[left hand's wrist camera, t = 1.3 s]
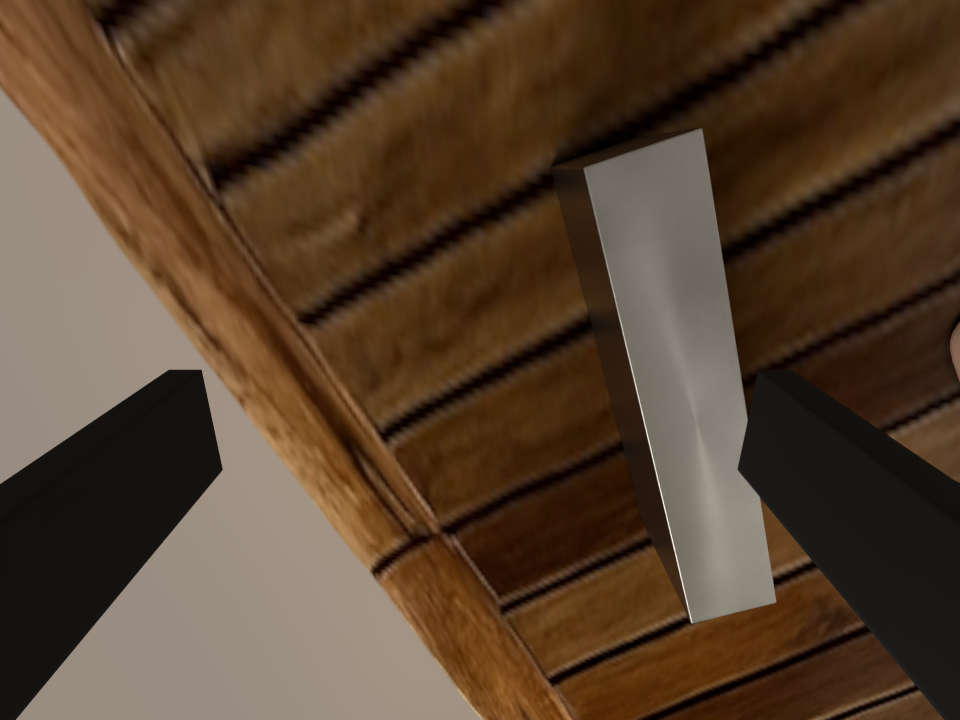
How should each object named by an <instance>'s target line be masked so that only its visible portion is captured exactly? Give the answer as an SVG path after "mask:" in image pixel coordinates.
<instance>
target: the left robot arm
mask: <svg viewBox="0 0 960 720" xmlns="http://www.w3.org/2000/svg"><path fill="white" fill-rule="evenodd" d="M222 470H223V469H222V464H221V459H220V455H219V450H218V445H217V441H216V436H215V431H214V426H213V422H212V417H211V412H210V407H209V403H208V398H207V393H206V389H205V384H204V379H203V374H202V370H168V371H167V372H165V373H164V374H162V375H161V376H159V377H158V378H156V379H155V380H153V381H152V382H150V383H149V384H147V385H146V386H144V387H143V388H142V389H140V390H139V391H137V392H136V393H134V394H133V395H131V396H130V397H128V398H127V399H125V400H124V401H122V402H121V403H119V404H118V405H116V406H115V407H113V408H112V409H110V410H109V411H108V412H106V413H105V414H103V415H102V416H100V417H99V418H97V419H96V420H94V421H93V422H91V423H90V424H88V425H87V426H85V427H84V428H82V429H81V430H79V431H78V432H76V433H75V434H74V435H72V436H71V437H69V438H68V439H66V440H65V441H63V442H62V443H60V444H59V445H57V446H56V447H54V448H53V449H51V450H50V451H48V452H47V453H45V454H44V455H43V456H41V457H40V458H38V459H37V460H35V461H34V462H32V463H31V464H29V465H28V466H26V467H25V468H23V469H22V470H20V471H19V472H17V473H16V474H14V475H13V476H12V477H10V478H9V479H7V480H6V481H4V482H3V483H1V484H0V720H16V719H17V718H18V716H19V715H20V714H21V713H22V711H23V710H24V709H25V708H26V707H27V705H28V704H29V703H30V702H31V701H32V699H33V698H34V697H35V696H36V695H37V693H38V692H39V691H40V690H41V689H42V687H43V686H44V685H45V684H46V682H47V681H48V680H49V679H50V678H51V676H52V675H53V674H54V673H55V672H56V670H57V669H58V668H59V667H60V666H61V664H62V663H63V662H64V661H65V660H66V658H67V657H68V656H69V655H70V654H71V652H72V651H73V650H74V649H75V648H76V646H77V645H78V644H79V643H80V641H81V640H82V639H83V638H84V637H85V635H86V634H87V633H88V632H89V631H90V629H91V628H92V627H93V626H94V625H95V623H96V622H97V621H98V620H99V618H100V617H101V616H102V615H103V614H104V612H105V611H106V610H107V609H108V608H109V606H110V605H111V604H112V603H113V602H114V600H115V599H116V598H117V597H118V596H119V594H120V593H121V592H122V591H123V589H124V588H125V587H126V586H127V585H128V583H129V582H130V581H131V580H132V579H133V577H134V576H135V575H136V574H137V573H138V571H139V570H140V569H141V568H142V567H143V565H144V564H145V563H146V562H147V561H148V559H149V558H150V557H151V556H152V555H153V553H154V552H155V551H156V550H157V549H158V547H159V546H160V545H161V544H162V542H163V541H164V540H165V539H166V538H167V536H168V535H169V534H170V533H171V532H172V530H173V529H174V528H175V527H176V526H177V524H178V523H179V522H180V521H181V520H182V518H183V517H184V516H185V515H186V514H187V512H188V511H189V510H190V509H191V507H192V506H193V505H194V504H195V503H196V501H197V500H198V499H199V498H200V497H201V495H202V494H203V493H204V492H205V491H206V489H207V488H208V487H209V486H210V484H211V483H212V482H213V481H214V480H215V478H216V477H217V476H218V475H219V474H220V472H221V471H222ZM737 470H738V471H739V472H740V474H741V475H742V476H743V477H744V478H745V480H746V481H747V482H748V483H749V485H750V486H751V487H752V488H753V489H754V491H755V492H756V493H757V494H758V495H759V497H760V498H761V499H762V500H763V501H764V503H765V504H766V505H767V506H768V507H769V509H770V510H771V511H772V512H773V514H774V515H775V516H776V517H777V518H778V520H779V521H780V522H781V523H782V524H783V526H784V527H785V528H786V529H787V530H788V532H789V533H790V534H791V535H792V536H793V538H794V539H795V540H796V541H797V542H798V544H799V545H800V546H801V547H802V549H803V550H804V551H805V552H806V553H807V555H808V556H809V557H810V558H811V559H812V561H813V562H814V563H815V564H816V565H817V567H818V568H819V569H820V570H821V571H822V573H823V574H824V575H825V576H826V577H827V579H828V580H829V581H830V582H831V584H832V585H833V586H834V587H835V588H836V590H837V591H838V592H839V593H840V594H841V596H842V597H843V598H844V599H845V600H846V602H847V603H848V604H849V605H850V606H851V608H852V609H853V610H854V611H855V612H856V614H857V615H858V616H859V617H860V619H861V620H862V621H863V622H864V623H865V625H866V626H867V627H868V628H869V629H870V631H871V632H872V633H873V634H874V635H875V637H876V638H877V639H878V640H879V641H880V643H881V644H882V645H883V646H884V648H885V649H886V650H887V651H888V652H889V654H890V655H891V656H892V657H893V658H894V660H895V661H896V662H897V663H898V664H899V666H900V667H901V668H902V669H903V670H904V672H905V673H906V674H907V675H908V676H909V678H910V679H911V680H912V681H913V683H914V684H915V685H916V686H917V687H918V689H919V690H920V691H921V692H922V693H923V695H924V696H925V697H926V698H927V699H928V701H929V702H930V703H931V704H932V705H933V707H934V708H935V709H936V710H937V711H938V713H939V714H940V715H941V716H942V718H943V719H944V720H960V483H959V482H957V481H955V480H953V479H951V478H950V477H948V476H947V475H946V474H944V473H943V472H941V471H940V470H938V469H937V468H935V467H934V466H932V465H931V464H929V463H928V462H926V461H925V460H923V459H922V458H920V457H919V456H917V455H916V454H915V453H913V452H912V451H910V450H909V449H907V448H906V447H904V446H903V445H901V444H900V443H898V442H897V441H895V440H894V439H892V438H891V437H889V436H888V435H886V434H885V433H884V432H882V431H881V430H879V429H878V428H876V427H875V426H873V425H872V424H870V423H869V422H867V421H866V420H864V419H863V418H861V417H860V416H858V415H857V414H855V413H854V412H852V411H851V410H850V409H848V408H847V407H845V406H844V405H842V404H841V403H839V402H838V401H836V400H835V399H833V398H832V397H830V396H829V395H827V394H826V393H824V392H823V391H821V390H820V389H819V388H817V387H816V386H814V385H813V384H811V383H810V382H808V381H807V380H805V379H804V378H802V377H801V376H799V375H798V374H796V373H795V372H793V371H792V370H758V374H757V379H756V384H755V389H754V393H753V398H752V403H751V407H750V412H749V417H748V422H747V426H746V431H745V436H744V441H743V445H742V450H741V455H740V459H739V464H738V469H737Z"/></svg>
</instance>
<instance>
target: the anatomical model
mask: <svg viewBox="0 0 960 720" xmlns="http://www.w3.org/2000/svg"><path fill="white" fill-rule="evenodd" d="M950 351H951V356H952V361H953V364H954V367H955V369H956V372H957V375H958V378H959V381H960V322H959V323H958V324H957V325H956V327H955V329H954V331H953V333H952V336H951V340H950Z"/></svg>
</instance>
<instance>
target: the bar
mask: <svg viewBox="0 0 960 720" xmlns="http://www.w3.org/2000/svg"><path fill="white" fill-rule="evenodd" d="M551 170H552V173H553V177H554V181H555V185H556V189H557V193H558V197H559V201H560V204H561V208H562V212H563V216H564V220H565V224H566V228H567V232H568V235H569V239H570V243H571V247H572V251H573V255H574V259H575V263H576V266H577V270H578V274H579V278H580V282H581V286H582V290H583V294H584V297H585V301H586V305H587V309H588V313H589V317H590V321H591V325H592V328H593V332H594V336H595V340H596V344H597V348H598V352H599V356H600V359H601V363H602V367H603V371H604V375H605V379H606V383H607V387H608V390H609V394H610V398H611V402H612V406H613V410H614V414H615V418H616V421H617V425H618V429H619V433H620V437H621V441H622V445H623V449H624V452H625V456H626V460H627V464H628V468H629V472H630V476H631V480H632V483H633V487H634V491H635V495H636V499H637V503H638V507H639V511H640V514H641V518H642V522H643V524H644V526H645V528H646V530H647V532H648V534H649V536H650V538H651V540H652V543H653V545H654V547H655V549H656V551H657V553H658V555H659V557H660V559H661V561H662V563H663V566H664V568H665V570H666V572H667V574H668V576H669V578H670V580H671V582H672V584H673V586H674V589H675V591H676V593H677V595H678V597H679V599H680V601H681V603H682V605H683V607H684V610H685V612H686V614H687V616H688V618H689V620H690V622H691V623H696V622H700V621H704V620H708V619H712V618H716V617H720V616H724V615H728V614H732V613H736V612H740V611H744V610H748V609H753V608H757V607H761V606H765V605H769V604H773V603H776V597H775V590H774V584H773V578H772V571H771V565H770V558H769V552H768V545H767V539H766V533H765V526H764V520H763V513H762V507H761V501H760V497H759V495H758V494H757V493H756V492H755V491H754V489H753V488H752V487H751V486H750V485H749V483H748V482H747V481H746V480H745V478H744V477H743V476H742V475H741V474H740V472H739V471H738V470H737V469H738V464H739V459H740V455H741V450H742V445H743V441H744V436H745V431H746V426H747V422H748V417H747V411H746V404H745V398H744V392H743V385H742V379H741V372H740V366H739V360H738V353H737V347H736V340H735V334H734V327H733V321H732V315H731V308H730V302H729V295H728V289H727V283H726V276H725V270H724V263H723V257H722V251H721V244H720V238H719V231H718V225H717V218H716V212H715V206H714V199H713V193H712V186H711V180H710V174H709V167H708V161H707V154H706V148H705V142H704V135H703V129H702V128H694V129H688V130H682V131H676V132H670V133H664V134H658V135H652V136H646V137H640V138H634V139H631V140H628V141H625V142H622V143H619V144H616V145H613V146H610V147H608V148H605V149H602V150H599V151H596V152H593V153H590V154H587V155H584V156H581V157H578V158H575V159H572V160H569V161H567V162H564V163H561V164H558V165H555V166H552V167H551Z"/></svg>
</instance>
